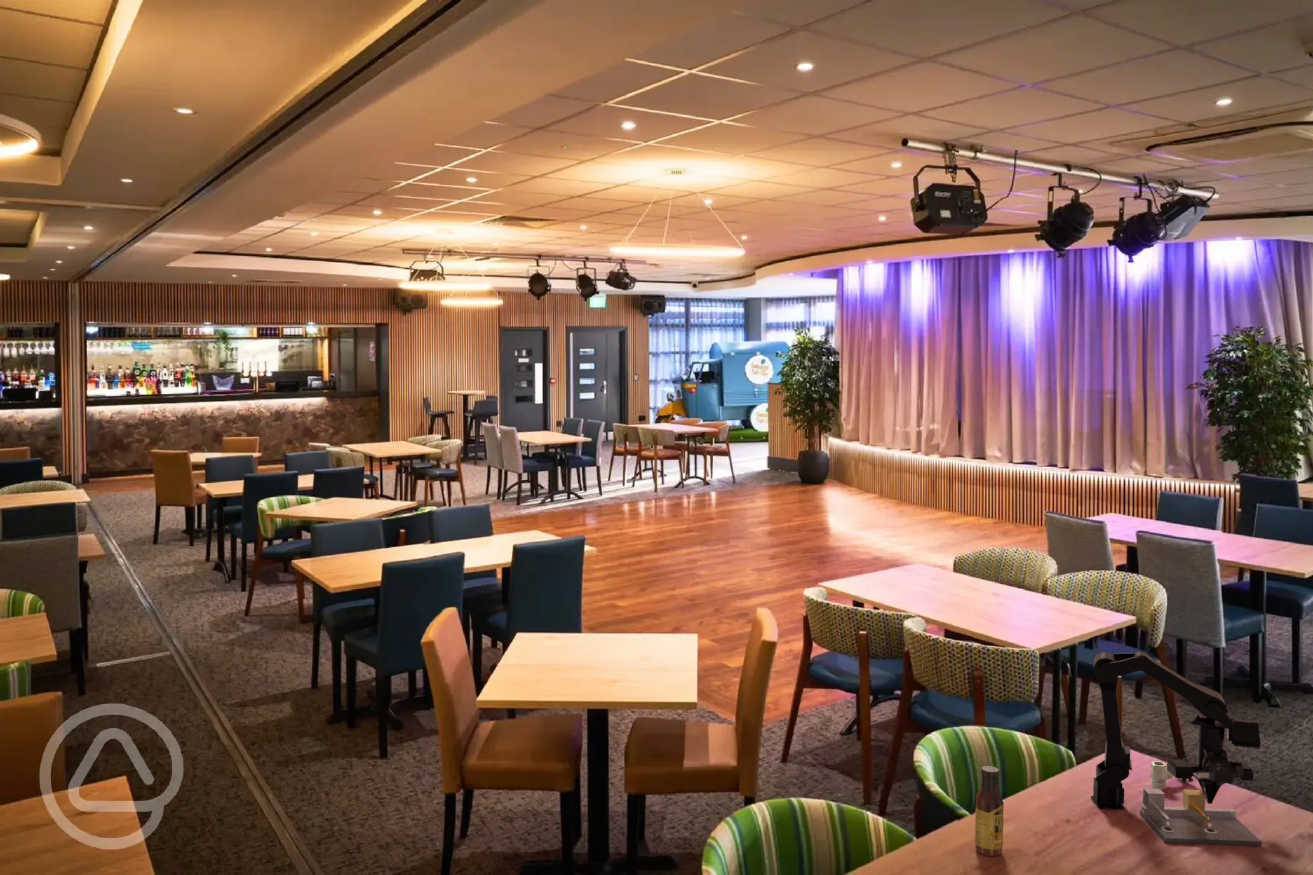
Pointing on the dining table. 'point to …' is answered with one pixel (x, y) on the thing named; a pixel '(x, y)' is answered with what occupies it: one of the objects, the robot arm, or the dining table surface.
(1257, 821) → the dining table surface
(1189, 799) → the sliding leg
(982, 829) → the sauce bottle
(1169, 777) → the valve
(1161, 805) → the bolt plate dividers
